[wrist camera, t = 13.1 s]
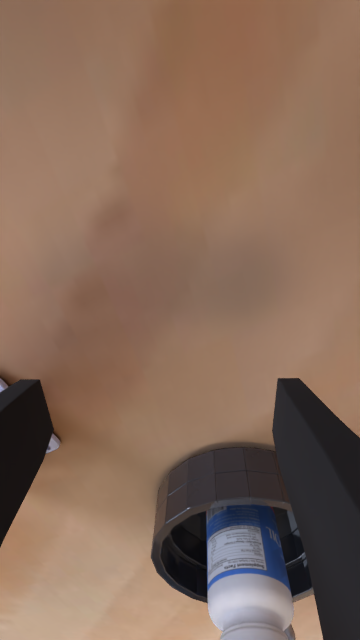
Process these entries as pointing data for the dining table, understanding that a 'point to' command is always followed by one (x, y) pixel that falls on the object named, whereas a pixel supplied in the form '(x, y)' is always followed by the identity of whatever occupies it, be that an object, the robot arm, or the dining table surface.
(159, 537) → the black shallow round container
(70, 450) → the dining table surface
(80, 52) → the dining table surface
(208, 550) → the pill bottle
